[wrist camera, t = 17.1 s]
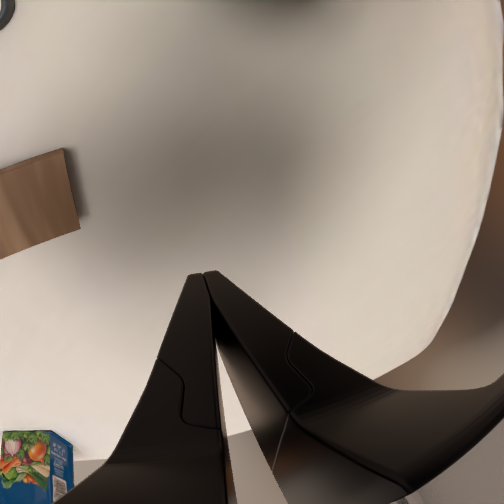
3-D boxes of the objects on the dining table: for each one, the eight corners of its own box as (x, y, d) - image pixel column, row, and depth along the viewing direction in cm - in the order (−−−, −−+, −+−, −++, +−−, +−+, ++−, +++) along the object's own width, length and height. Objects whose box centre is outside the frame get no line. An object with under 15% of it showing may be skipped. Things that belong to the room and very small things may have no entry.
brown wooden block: (63, 152, 14) (-49, 197, 10) (80, 228, 17) (-22, 268, 13) (62, 147, 15) (-41, 189, 11) (78, 218, 18) (-18, 255, 14)
